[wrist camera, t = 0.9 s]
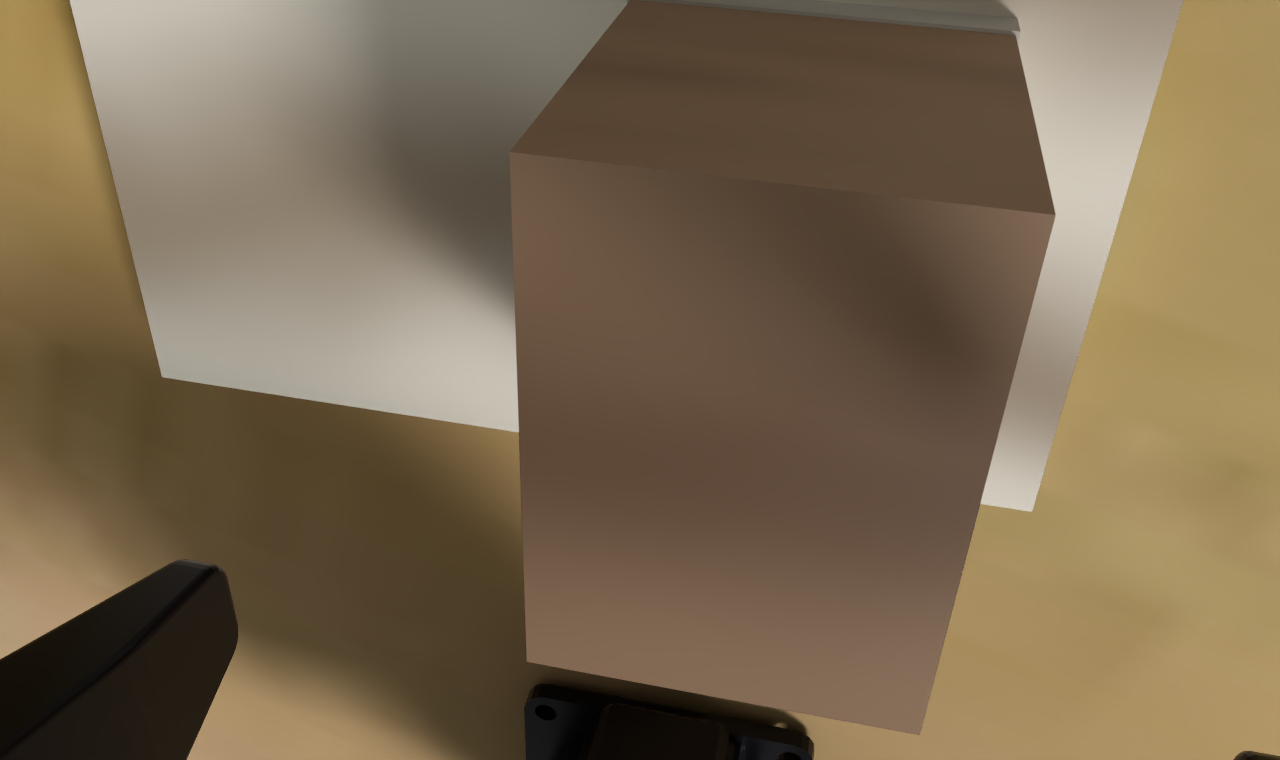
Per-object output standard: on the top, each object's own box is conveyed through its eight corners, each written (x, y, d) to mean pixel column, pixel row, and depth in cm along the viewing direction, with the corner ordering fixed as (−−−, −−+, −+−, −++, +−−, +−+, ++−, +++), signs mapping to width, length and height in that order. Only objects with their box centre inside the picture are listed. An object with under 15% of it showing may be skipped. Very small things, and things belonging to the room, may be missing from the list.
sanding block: (923, 449, 19) (922, 738, 14) (623, 404, 20) (522, 663, 15) (1017, 18, 15) (1062, 211, 10) (637, -16, 16) (504, 146, 11)
